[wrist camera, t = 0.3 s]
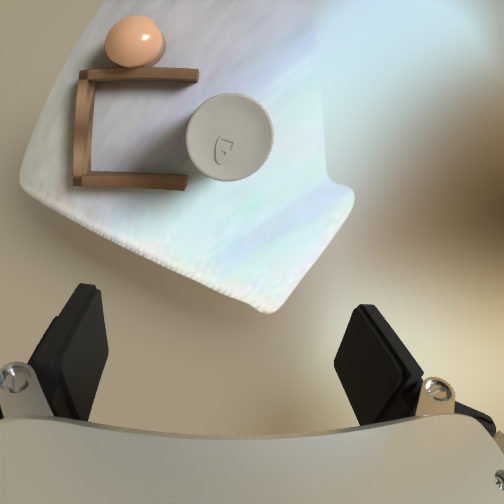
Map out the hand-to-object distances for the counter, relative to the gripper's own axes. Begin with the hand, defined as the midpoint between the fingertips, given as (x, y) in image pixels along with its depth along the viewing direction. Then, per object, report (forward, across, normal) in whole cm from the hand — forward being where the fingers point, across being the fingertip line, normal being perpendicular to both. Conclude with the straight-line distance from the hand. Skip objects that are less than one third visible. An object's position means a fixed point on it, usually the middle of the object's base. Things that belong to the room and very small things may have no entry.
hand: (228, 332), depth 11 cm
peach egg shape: (+29, +11, -16) cm, 35 cm away
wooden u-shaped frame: (+29, +11, -6) cm, 32 cm away
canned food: (+30, 0, -6) cm, 30 cm away
